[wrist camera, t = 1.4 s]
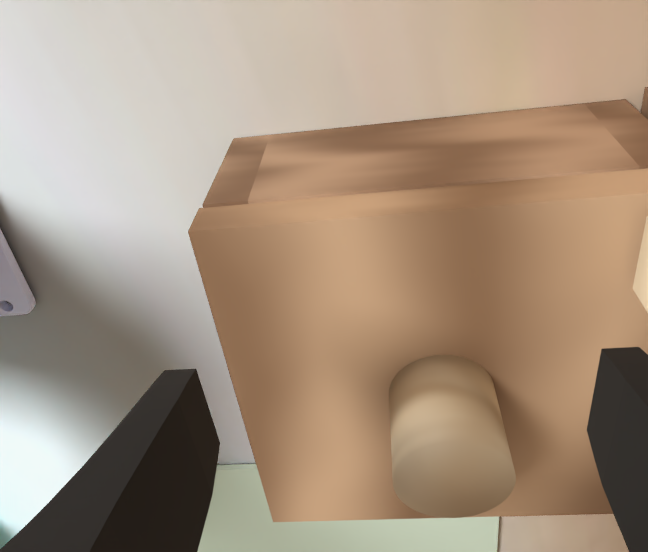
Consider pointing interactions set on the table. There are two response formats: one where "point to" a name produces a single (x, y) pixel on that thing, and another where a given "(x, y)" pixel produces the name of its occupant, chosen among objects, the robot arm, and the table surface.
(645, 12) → the table surface
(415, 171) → the toolbox
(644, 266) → the cream rectangular bar
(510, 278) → the lid
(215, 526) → the mat
